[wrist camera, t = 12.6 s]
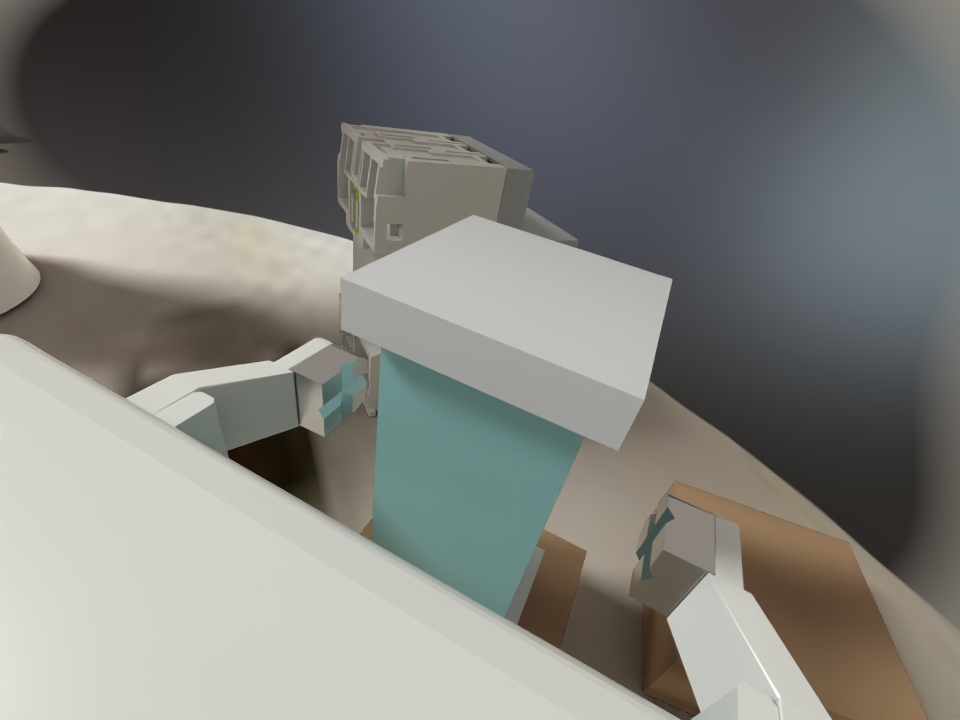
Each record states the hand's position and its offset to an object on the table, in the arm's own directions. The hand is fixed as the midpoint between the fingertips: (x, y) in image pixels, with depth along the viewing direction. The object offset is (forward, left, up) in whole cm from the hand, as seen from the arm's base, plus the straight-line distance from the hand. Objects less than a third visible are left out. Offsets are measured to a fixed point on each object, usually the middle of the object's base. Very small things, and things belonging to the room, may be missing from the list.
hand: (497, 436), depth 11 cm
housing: (0, 0, -8) cm, 8 cm away
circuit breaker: (+5, +18, -12) cm, 22 cm away
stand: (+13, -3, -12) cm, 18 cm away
